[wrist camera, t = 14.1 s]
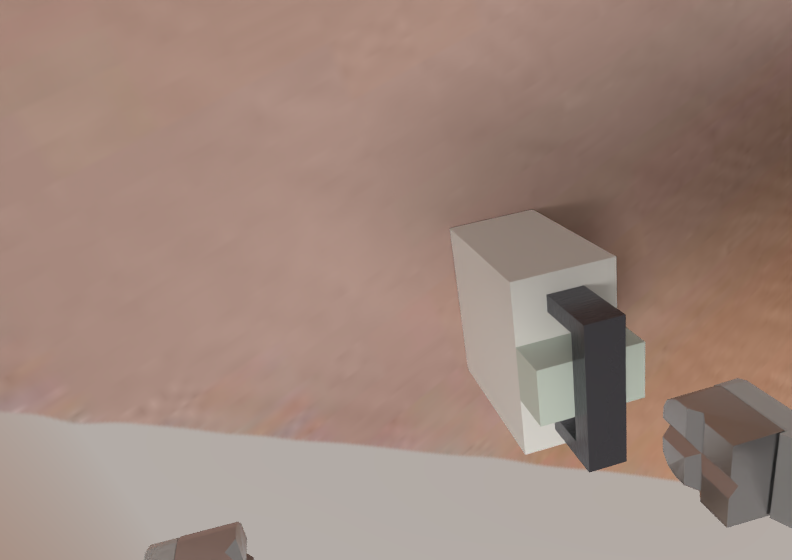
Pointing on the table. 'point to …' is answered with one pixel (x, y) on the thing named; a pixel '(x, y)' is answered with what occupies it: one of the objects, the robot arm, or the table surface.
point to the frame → (594, 376)
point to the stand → (530, 318)
